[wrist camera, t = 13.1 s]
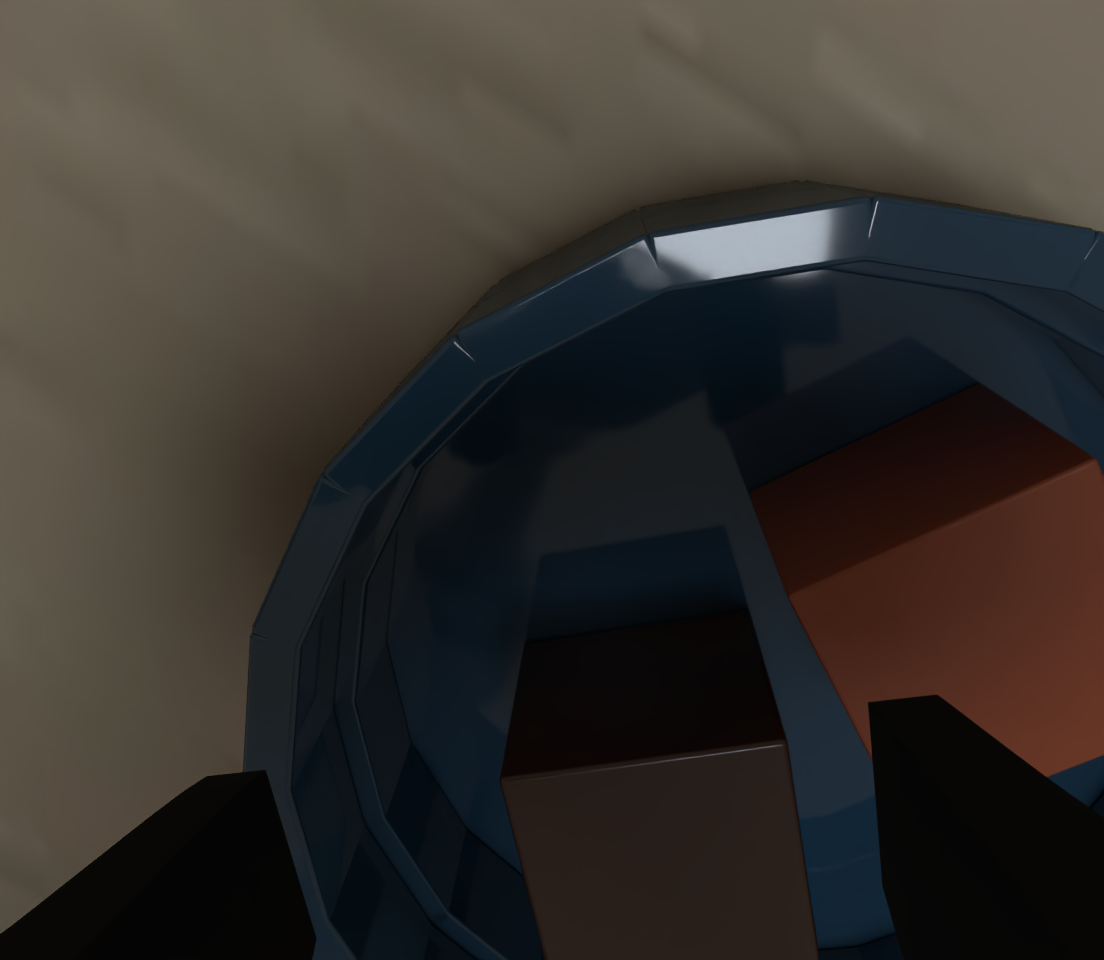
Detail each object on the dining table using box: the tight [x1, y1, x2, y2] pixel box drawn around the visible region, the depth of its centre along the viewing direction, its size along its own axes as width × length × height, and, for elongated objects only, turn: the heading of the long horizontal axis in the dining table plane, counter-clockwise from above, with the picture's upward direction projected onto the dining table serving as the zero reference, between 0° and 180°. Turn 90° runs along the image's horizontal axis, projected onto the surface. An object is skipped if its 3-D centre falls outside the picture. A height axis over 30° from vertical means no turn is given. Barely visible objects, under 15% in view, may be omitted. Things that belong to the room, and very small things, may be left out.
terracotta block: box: [749, 383, 1104, 777], centre depth 15 cm, size 4×4×4 cm
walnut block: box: [499, 610, 820, 960], centre depth 16 cm, size 4×4×4 cm
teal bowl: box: [243, 180, 1104, 960], centre depth 15 cm, size 15×15×5 cm
